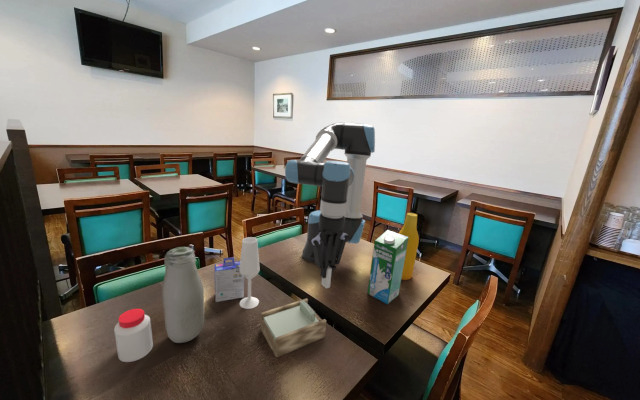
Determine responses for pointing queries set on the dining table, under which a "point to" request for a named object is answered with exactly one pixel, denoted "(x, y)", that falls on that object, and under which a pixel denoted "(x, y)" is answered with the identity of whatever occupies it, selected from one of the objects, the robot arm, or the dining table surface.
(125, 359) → the pill bottle
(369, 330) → the dining table surface
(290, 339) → the box
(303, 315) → the lid
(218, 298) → the ink cartridge box
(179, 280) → the glass bottle
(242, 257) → the champagne flute
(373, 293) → the milk carton
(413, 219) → the beer bottle
